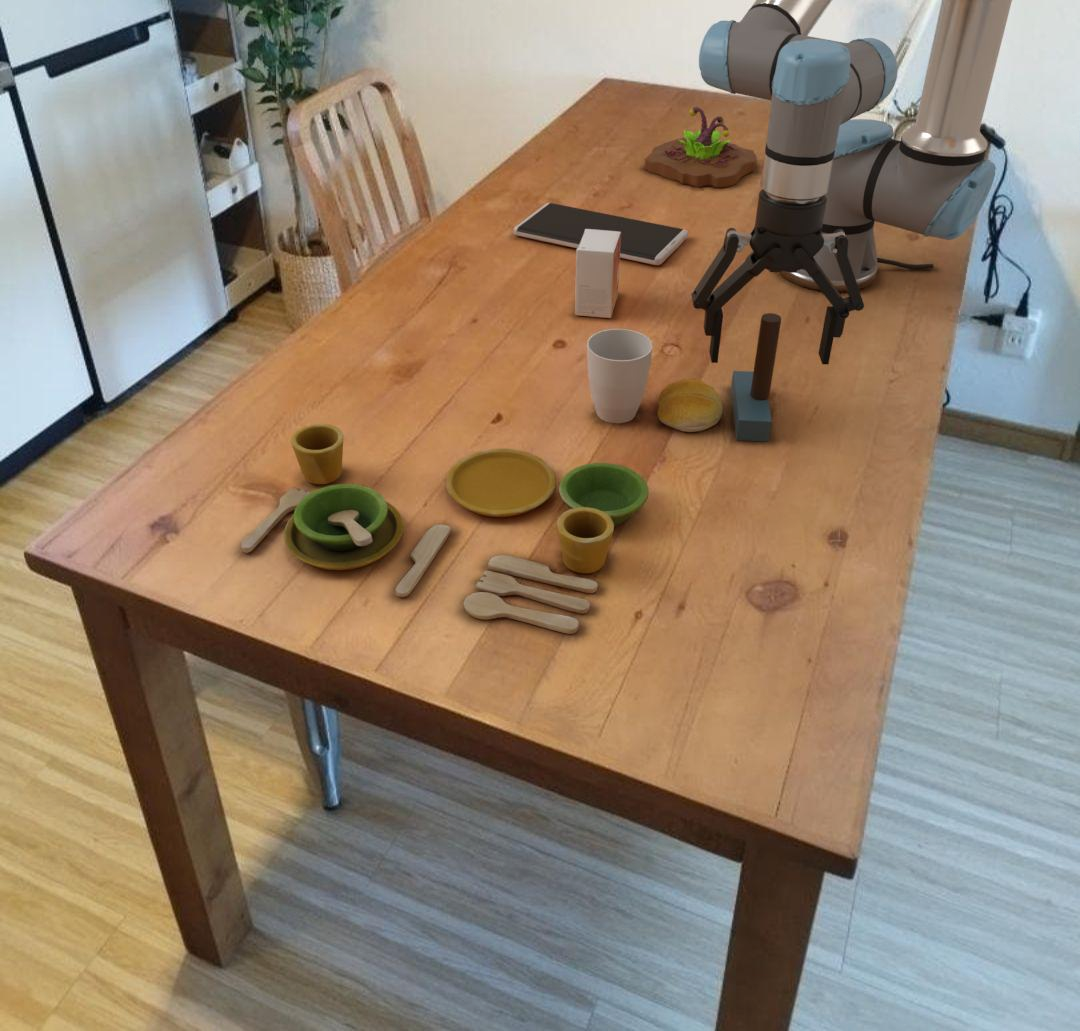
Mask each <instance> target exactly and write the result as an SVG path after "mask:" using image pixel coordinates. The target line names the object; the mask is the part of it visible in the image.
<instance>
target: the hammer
mask: <svg viewBox="0 0 1080 1031" xmlns="http://www.w3.org/2000/svg"><path fill="white" fill-rule="evenodd" d="M760 318H761V319H760V323H759V324H760V325H759V331H758V337H757V344H756V350H755V351H756V352H755V357H754V358H755V359H754V365H753V371H752V370H751V371H750V370H749V371H748V370H732V376H731V383H730V384H731V386H730V396H731V406H732V416H733V423H734V424H733V425H734V432H735V440H736V441H745V442H764V443H765V442H766V443H767V442H768V443H769V441H770V435H771V429H772V425H773V424H772V423H773V422H772V421H773V420H772V414H771V408H770V403H769V398H770V395H771V388H772V383H773V375H774V369H775V363H776V357H777V350H778V344H779V336H780V332H781V331H780V330H781V325H782V316H780V315H779V314H777V313H772V312H766V313H764V314H762V315H761V317H760Z"/></svg>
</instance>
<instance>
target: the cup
mask: <svg viewBox="0 0 1080 1031" xmlns="http://www.w3.org/2000/svg"><path fill="white" fill-rule="evenodd" d="M652 354H653V342H652V340H651V338H649V337H648V336H647V335H645V334H643V333H642V332H639V331H636V330H633V329H627V328H609V329H603V330H600V331H597V332H595V333H594V334H592V335H591V336H590V337H589V338H588V339H587V341H586V356H587V357H586V358H587V376H588V382H589V389H590V390H589V391H590V395H591V400H592V403H593V406H594V408H595V413H596V415H597V417H598V418H599V419H600V420H601V421H603V422H605V423H609V424H624V423H629V422H631V421H632V420H633V419H634V418H635V417H636V415H637V413H638V410H639V408H640V406H641V404H642V401H643V398H644V395H645V391H646V387H647V383H648V379H649V375H650V368H651V362H652V356H653V355H652Z"/></svg>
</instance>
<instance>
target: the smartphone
mask: <svg viewBox="0 0 1080 1031" xmlns="http://www.w3.org/2000/svg"><path fill="white" fill-rule="evenodd" d="M585 229H595V230H607V231H618V232H621V247H620V259H623V260H624V259H625V260H629V261H633V262H638V263H642V264H643V263H644V264H648V265H652V266H660V265H662V264H663V263H664V262H665V261H666V260H667V259H668V258H669V257H670V256H671V255H672V254H673V253H674V252H675V251H676V250H677V249H678V248H679V247H680V246H681V245H682V244H683V243H684V242H685V241H686V240H687V239H688V237H689V230H687V229H684V228H680V227H675V226H669V225H664V224H660V223H654V222H649V221H644V220H639V219H634V218H629V217H624V216H620V215H619V216H618V215H614V214H609V213H604V212H599V211H594V210H589V209H585V208H578V207H573V206H568V205H564V204H559V203H553V202H547V203H544V205H542V206H541V207H539V208H538V209H537V210H535V211H534V212H533V213H531V214H530V215H529V216H527V217H526V218H525V219H523V220H522V221H520V223H518V224H517V225H515V226H514V227H513V234H514V235H515V236H517V237H522V238H526V239H531V240H534V241H540V242H543V243H544V242H545V243H549V244H554V245H559V246H563V247H569V248H572V249H577V248H578V246H579V244H580V242H581V239H582V237H583V234H584V231H585Z"/></svg>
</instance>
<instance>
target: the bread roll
mask: <svg viewBox="0 0 1080 1031" xmlns="http://www.w3.org/2000/svg"><path fill="white" fill-rule="evenodd" d="M720 397H721V396H720V395H719V393H718V392H717V391H716V390H715V388H714V387H712V386H711V385H710V384H709V383H706V382H704V381H702V380H699V379H692V378H685V379H683V378H682V379H679V380H676V381H673V382H671V383H670V384H668V385H667V386H665V387H663V389H662V390H661V391H660V393H659V396H658V399H657V404H658V409H657V414H656V415H657V418H658V420H659V421H660V422H661V423H662V424H664V425H665V426H668V427H669V428H672V429H675V430H678V431H681V432H686V433H695V432H701V431H705V430H708V429H710V428H712V427H714V426H716V425H717V424H718V423H719V422H720V420H721V418H722V415H723V412H724V408H723V404H722V400H721V398H720Z"/></svg>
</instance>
